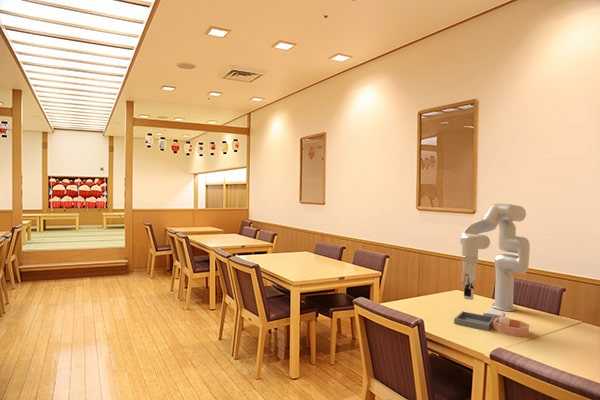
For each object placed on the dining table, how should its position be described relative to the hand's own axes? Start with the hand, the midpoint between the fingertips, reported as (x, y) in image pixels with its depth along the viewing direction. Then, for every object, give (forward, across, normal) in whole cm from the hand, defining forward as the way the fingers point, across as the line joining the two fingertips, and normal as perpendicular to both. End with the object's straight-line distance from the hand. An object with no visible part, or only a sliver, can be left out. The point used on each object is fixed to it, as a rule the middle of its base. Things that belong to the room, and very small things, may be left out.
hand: (468, 294), depth 206 cm
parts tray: (+14, +1, +3) cm, 15 cm away
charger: (+15, -15, +10) cm, 24 cm away
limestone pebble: (+13, 0, +17) cm, 22 cm away
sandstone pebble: (+2, 0, 0) cm, 2 cm away
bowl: (+14, +1, +20) cm, 25 cm away
